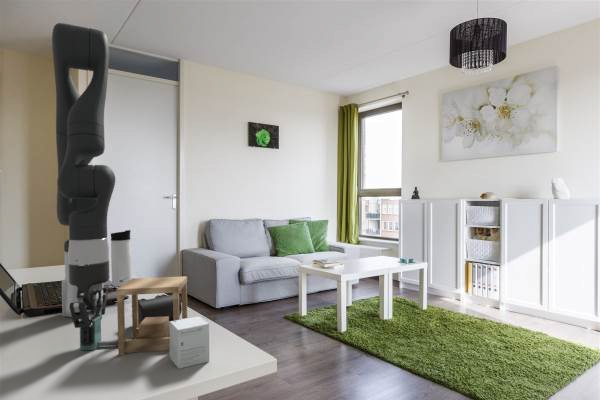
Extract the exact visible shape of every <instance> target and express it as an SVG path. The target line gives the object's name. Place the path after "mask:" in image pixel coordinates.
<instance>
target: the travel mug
mask: <svg viewBox="0 0 600 400" xmlns="http://www.w3.org/2000/svg"><path fill="white" fill-rule="evenodd" d="M131 232H132V231H131V230H130V229H128V230H124V231H118V232H111V233H110V250H111V251H110V255H111V256H110V258H111V259H110V260H111V261H110V263H111V265H110V267H111V268H110V269H111V285H112V284H114V285H115V286H116V287H118V288H119V287H121V286H122V285H123V284H125V283H126V282H128V281H129V280H131V279H132V251H131V250H132V249H131V248H132V247H131V245H132V244H131Z"/></svg>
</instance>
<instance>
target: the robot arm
mask: <svg viewBox="0 0 600 400" xmlns="http://www.w3.org/2000/svg"><path fill="white" fill-rule="evenodd" d="M52 28H53V29H52V32H51V33H52V36H51V44H52V45H51V46H52V59H53V70H54V80H55V81H54V82H55V83H54V85H55V94H56V95H55V98H56V99H55V100H56V101H55V102H56V103H55V105H56V106H55V108H56V109H55V130H56V131H55V134H56V135H55V136H56V137H55V138H56V139H55V140H56V142H55V145H56V155H57V179H56V180H57V183H56V184H57V185H56V186H57V188H56V189H57V192H56V216H57V219H58V222H59V224H60V225H61V226H67V227H68V239H67V240H65V242H64V243H63V250H64V251H63V252H64V279H63V280H62V281H61V307H62V310H61V312H62V317H68V318H72V322H73V325H74V328H75V329H80V328H81V345H82V346H90V345H92V344H93V343H94V328H93V325H94V316H101V320H102V319H103V316H104V315H106V309H107V308H106V307H107V300H108V292H109V289H108V287H105V283H107V282H108V281H109V280H110V277H111V276H110V249H109V248H110V246H109V242H108V214H109V213H108V212H109V208H110V207H109V206H110V202H111V199H112V196H113V192H114V190H115V185H116V176H115V173H114V172H115V171H114V170H113V169H112V168H111V167H110V166H109V165H105V164H90V163H91V161H93V159H94V158H97V157H100V156H101V155H103V154H104V152H105V146H106V144H105V142H106V141H105V108H106V107H105V106H106V99H107V88H108V76H109V62H110V47H109V40H108V36H107V35H106V33H105V32H104V31H102V30H100V29H95V28H91V27H89V28H88V27H85V26H79V25H74V24H69V23H63V22H57V23H56V24H54V26H53V27H52ZM70 69H74V70H79V71H80V70H82V71H89V72H92V77H91V79H90V82H89V84H88V86H86V88H85V90H84V91H83V92H82V94H80V92H79V91H78V89H77V86H76V85H75V82H74V80H73V77H72V74H71V71H70Z"/></svg>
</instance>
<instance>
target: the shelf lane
mask: <svg viewBox="0 0 600 400" xmlns="http://www.w3.org/2000/svg"><path fill="white" fill-rule="evenodd" d="M187 283H188V276H184V275H183V276H162V277H137V278H135V277H134V278H133V277H131V280H129V281H128V282H126V283H125V284H123V285H122V286H121V287H119V288H118V289H115V290H116V293H115V294H116V305H117V312H116V313H117V340H118V345H117V347H118V349H117V352H118V356H125V354H126V353H129V354H130V353H139V352H140V353H142V352H143V353H144V352H146V353H147V352H160V351H170V329H169V337H162V338H144V339H139V325H138V300H139V295H153V294H154V295H155V294H157V295H158V294H173V318H174V321H175V320H181V319H185V318H189V317H188V284H187ZM180 292H181V306H182V311H181V315H179V299H180ZM130 295H131V318H132V319H131V320H132V321H131V322H132V338H129V339H128V338H126V328H125V327H126V325H125V322H126V321H125V320H126V319H125V318H126V317H125V296H130ZM180 317H181V319H180Z"/></svg>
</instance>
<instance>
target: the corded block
mask: <svg viewBox="0 0 600 400" xmlns="http://www.w3.org/2000/svg"><path fill="white" fill-rule="evenodd" d="M93 328H94V343H93V344H92V345H90V346H82V345H81V328H79V350H80V351H91V350H93V351H94V350H97V349H98V348H99V347H110V346H112V347H114V346H117V347H118V339H117V340H116V339H115V340H102V319H101V316H94V325H93ZM162 337H169V316H167V317H146V318H145V319H144V320H143V321H142V322H141V323H140V324H139V339H144V338H162Z"/></svg>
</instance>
